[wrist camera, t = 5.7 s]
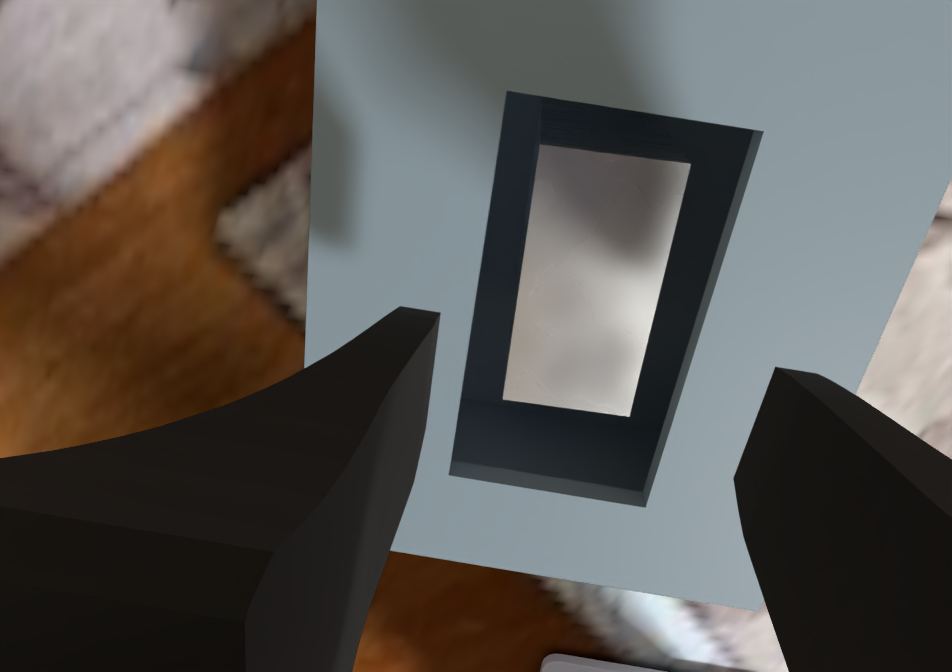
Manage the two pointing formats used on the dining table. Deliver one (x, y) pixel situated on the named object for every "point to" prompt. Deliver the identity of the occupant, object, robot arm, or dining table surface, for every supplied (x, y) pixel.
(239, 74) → the dining table surface
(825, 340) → the grey tissue box
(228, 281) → the dining table surface
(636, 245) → the white block
